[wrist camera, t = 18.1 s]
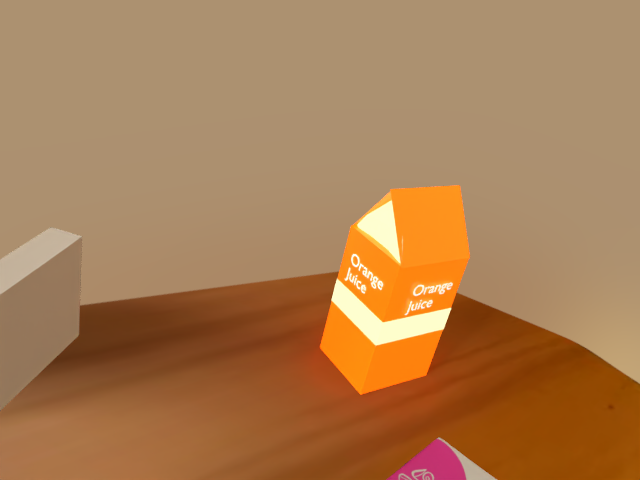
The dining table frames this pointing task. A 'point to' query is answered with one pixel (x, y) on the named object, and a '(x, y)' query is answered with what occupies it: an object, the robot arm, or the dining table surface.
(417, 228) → the orange juice
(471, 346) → the dining table surface
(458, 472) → the supplement box
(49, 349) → the robot arm
